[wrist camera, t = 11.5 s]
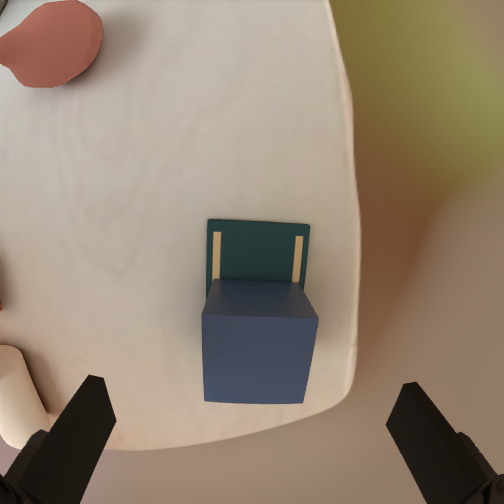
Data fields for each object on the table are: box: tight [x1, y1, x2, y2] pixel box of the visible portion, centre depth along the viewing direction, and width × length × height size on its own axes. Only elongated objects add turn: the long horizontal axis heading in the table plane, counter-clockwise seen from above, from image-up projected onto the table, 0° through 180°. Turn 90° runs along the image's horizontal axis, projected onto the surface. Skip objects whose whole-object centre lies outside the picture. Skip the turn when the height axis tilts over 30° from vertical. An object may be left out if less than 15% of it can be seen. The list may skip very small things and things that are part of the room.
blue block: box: [202, 279, 319, 404], centre depth 18 cm, size 6×6×6 cm
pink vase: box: [0, 0, 103, 88], centre depth 11 cm, size 8×8×12 cm
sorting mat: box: [206, 219, 310, 300], centre depth 21 cm, size 14×7×1 cm, turn 177°
